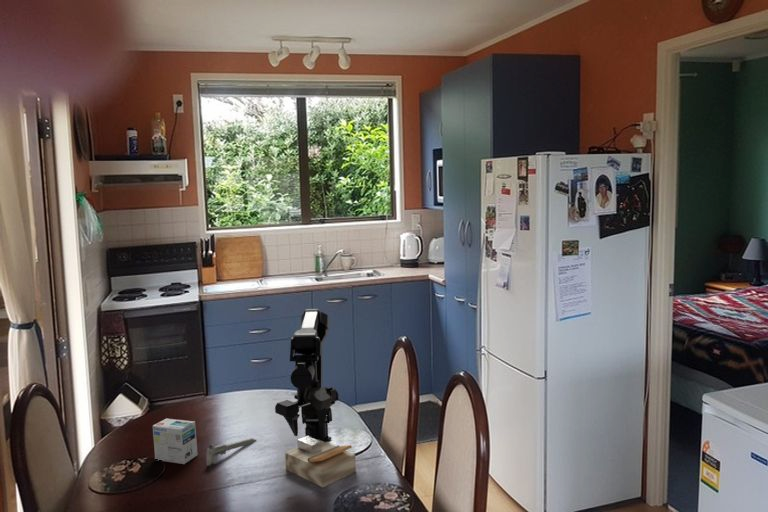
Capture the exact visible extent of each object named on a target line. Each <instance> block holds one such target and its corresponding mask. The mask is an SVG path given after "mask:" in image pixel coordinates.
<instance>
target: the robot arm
mask: <svg viewBox="0 0 768 512" xmlns="http://www.w3.org/2000/svg"><path fill="white" fill-rule="evenodd" d="M300 318H301V319H300V323H301V324H300V329H298V330H297V329H296V330H295V331H294V334H293V337H291V338H290V348H289V350H290V351H289V353H290V354H289V362H294V363H295V365H294V368H293V370H292V372H291V374H290V383H291V384H292V386H293V387H294V388H296V394H294V396H293V397H294V400H296V401H291V400H289V399H285V400H282V401H278V402H277V403H276V404H275V405H274V413H275V414H277V415H279V416H282V417H283V418H284V419H285V421H286V422H287V424H288V426H289V428H290V431H291V432H292V433H293V436H295V437H298V436H299V435H298V434H299V423H298V420H299V418H300V414H299V412H300V410H301V422H302V425H304V424H305V429H304V431H305V432H304V433H305V434H304V435H305V436H304V437H306V436H309V437H312V438H314V439H316V440H317V439H319V440H321V441H324V442H326V443H327V442H329V441H330V440H332V437H331V436H329V424H330V423H331V422H332V421H333V412H332V406H333V405H335V404H336V402H338V401H339V398H340V397H339V392H338V391H337V390H336V388H335V387H334V386H330V387H327V386H326V387H323V343H324V342H325V340H326V338H327V336H328V330H330V317H329V316H328V314H327V313H324V312H322V310H321V309H319V308H306V309H304V310H303V313H302V314H301V317H300Z"/></svg>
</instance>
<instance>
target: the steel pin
mask: <svg viewBox="0 0 768 512" xmlns="http://www.w3.org/2000/svg"><path fill="white" fill-rule="evenodd" d="M297 447H298V448H299V449H301V450H304V451H305V452H306V453H310V454H314V453H316V452H319V451H321V450H322V442H321V441H319V440H316V439H314V438H312V437H309V436H306V437H305V436H303V437H301V438H298V439H297Z"/></svg>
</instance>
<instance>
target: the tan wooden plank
mask: <svg viewBox="0 0 768 512" xmlns="http://www.w3.org/2000/svg"><path fill="white" fill-rule="evenodd" d="M352 448H353V446H352V444H350V445H337V446H336V447H334V448H331V449H329V450H327V451H324V452H322V453H319V454H317V455H315V456H312V457H310V458H308V459H307V460H308V462H315V461H322V460H325V459H327V458H329V457H331V456H334V455H336V454H338V453H341V452H343V451H348V450H349V449H352Z"/></svg>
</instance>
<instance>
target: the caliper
mask: <svg viewBox="0 0 768 512" xmlns="http://www.w3.org/2000/svg"><path fill="white" fill-rule="evenodd" d="M256 441H257V439H255V438H252V437H250V438H247V439H243V440H240V441H239V440H238V441H234V442H231V443H229V444H225V443H222V444H219V445H216V444H215V443H211V444H210V443H209V444H208V448H206V454H205V456H206V458H205V459H206V466H209V467H211V465H215V464H216V462H217V459H218V456H219V455H226V453H227V451H230V450H233V449H238V448H241V447H245V446H249V445H252V444H253V443H254V442H256Z"/></svg>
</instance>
